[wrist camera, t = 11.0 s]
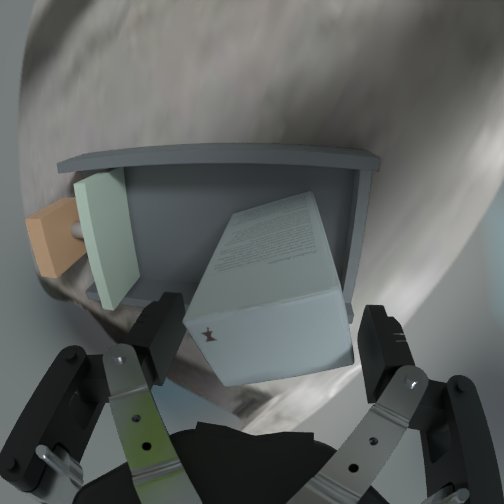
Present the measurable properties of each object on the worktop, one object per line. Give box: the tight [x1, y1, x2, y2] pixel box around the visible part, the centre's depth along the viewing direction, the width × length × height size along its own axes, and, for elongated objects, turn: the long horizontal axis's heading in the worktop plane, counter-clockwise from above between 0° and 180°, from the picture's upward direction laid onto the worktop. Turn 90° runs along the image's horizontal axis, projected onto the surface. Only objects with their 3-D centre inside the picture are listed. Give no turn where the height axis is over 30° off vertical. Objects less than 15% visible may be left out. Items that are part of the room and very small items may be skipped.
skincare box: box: [182, 191, 354, 387], centre depth 16 cm, size 6×4×12 cm
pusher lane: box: [57, 143, 380, 324], centre depth 21 cm, size 22×12×4 cm, turn 90°
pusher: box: [25, 167, 140, 311], centre depth 21 cm, size 7×10×5 cm
